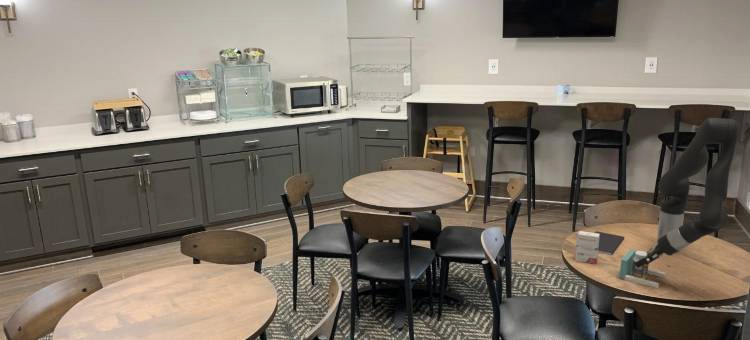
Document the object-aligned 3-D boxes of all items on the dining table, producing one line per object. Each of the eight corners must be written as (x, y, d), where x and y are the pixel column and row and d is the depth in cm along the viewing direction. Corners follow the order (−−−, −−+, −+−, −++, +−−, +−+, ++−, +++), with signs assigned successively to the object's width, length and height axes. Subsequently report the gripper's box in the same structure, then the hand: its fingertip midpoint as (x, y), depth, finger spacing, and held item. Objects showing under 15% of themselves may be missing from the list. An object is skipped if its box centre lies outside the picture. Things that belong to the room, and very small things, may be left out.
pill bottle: (645, 281, 231) (648, 257, 228) (630, 277, 234) (632, 254, 231) (648, 275, 235) (650, 252, 233) (632, 272, 238) (635, 249, 235)
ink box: (597, 259, 250) (600, 233, 247) (596, 264, 246) (599, 237, 242) (576, 256, 254) (578, 230, 250) (574, 260, 249) (576, 234, 246)
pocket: (665, 276, 234) (668, 257, 232) (657, 288, 225) (660, 268, 223) (628, 267, 242) (630, 249, 240) (619, 278, 233) (621, 259, 231)
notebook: (611, 256, 254) (624, 239, 270) (612, 253, 253) (624, 236, 270) (581, 250, 261) (595, 234, 277) (582, 246, 260) (595, 231, 277)
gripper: (672, 227, 229) (638, 247, 239) (662, 239, 218) (627, 260, 228) (686, 243, 227) (650, 263, 237) (677, 256, 217) (640, 276, 227)
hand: (639, 261), depth 233 cm, fingers open, 8 cm apart
